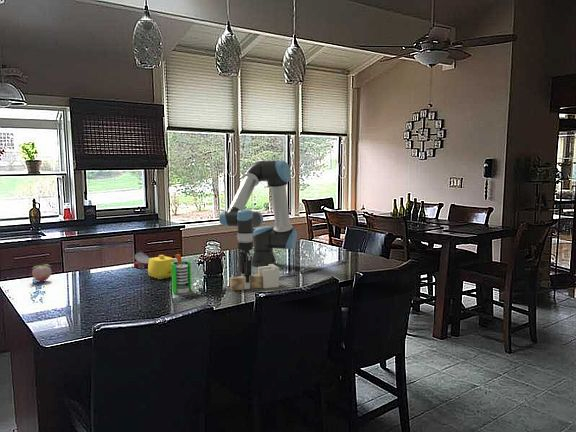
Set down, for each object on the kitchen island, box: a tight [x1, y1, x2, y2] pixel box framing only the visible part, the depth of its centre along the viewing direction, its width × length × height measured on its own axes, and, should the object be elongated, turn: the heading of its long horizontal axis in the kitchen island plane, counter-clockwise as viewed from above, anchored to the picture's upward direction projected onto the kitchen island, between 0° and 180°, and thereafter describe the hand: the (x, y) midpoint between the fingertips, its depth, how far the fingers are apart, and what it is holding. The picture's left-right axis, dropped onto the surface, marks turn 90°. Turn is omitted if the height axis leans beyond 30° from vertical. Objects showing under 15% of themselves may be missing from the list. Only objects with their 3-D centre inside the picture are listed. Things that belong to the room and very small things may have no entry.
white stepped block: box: [257, 264, 280, 289], centre depth 242 cm, size 9×8×10 cm
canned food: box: [133, 251, 151, 269], centre depth 288 cm, size 11×10×10 cm
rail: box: [229, 274, 263, 292], centre depth 239 cm, size 20×4×6 cm, turn 111°
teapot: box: [147, 254, 176, 280], centre depth 263 cm, size 20×12×12 cm, turn 45°
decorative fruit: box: [31, 263, 52, 282], centre depth 253 cm, size 9×8×10 cm
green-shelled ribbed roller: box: [171, 253, 192, 294], centre depth 232 cm, size 9×8×18 cm
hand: (245, 287), depth 238 cm, fingers closed on rail, 4 cm apart
